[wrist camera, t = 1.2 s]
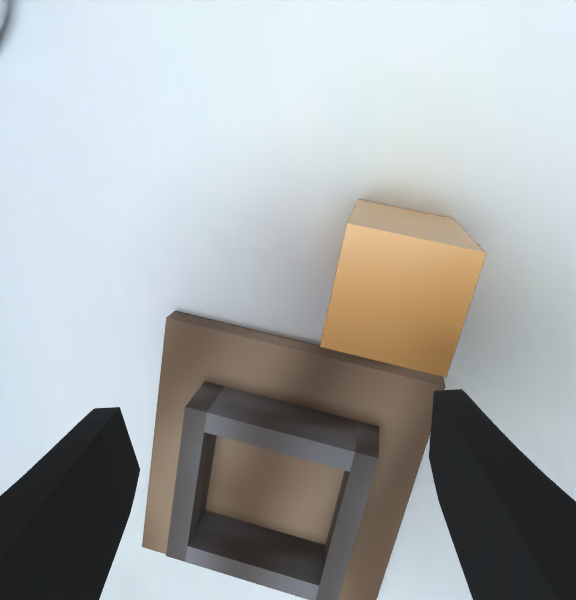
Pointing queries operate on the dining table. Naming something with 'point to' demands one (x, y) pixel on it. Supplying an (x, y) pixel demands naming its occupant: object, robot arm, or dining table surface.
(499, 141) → the dining table surface
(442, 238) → the orange rectangular block
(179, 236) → the dining table surface
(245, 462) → the holder
